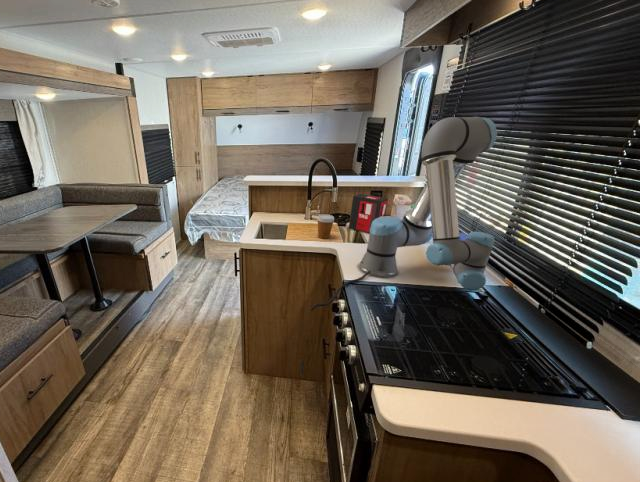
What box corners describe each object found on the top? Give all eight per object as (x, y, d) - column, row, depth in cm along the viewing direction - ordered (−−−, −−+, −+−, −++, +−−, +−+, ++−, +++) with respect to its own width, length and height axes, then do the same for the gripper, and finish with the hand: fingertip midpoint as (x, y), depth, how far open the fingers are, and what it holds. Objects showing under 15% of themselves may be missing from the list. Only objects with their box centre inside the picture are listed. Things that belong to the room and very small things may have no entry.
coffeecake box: (388, 224, 194) (394, 194, 186) (400, 225, 192) (407, 194, 184) (391, 232, 181) (398, 199, 173) (405, 233, 179) (412, 200, 171)
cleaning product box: (348, 228, 187) (353, 196, 179) (355, 225, 193) (360, 193, 185) (375, 235, 177) (381, 201, 169) (381, 231, 182) (388, 198, 174)
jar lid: (461, 244, 125) (462, 240, 124) (437, 237, 132) (438, 233, 132) (472, 239, 130) (473, 235, 129) (448, 233, 137) (449, 229, 136)
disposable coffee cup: (325, 241, 168) (328, 220, 163) (311, 236, 175) (313, 216, 170) (335, 237, 174) (338, 216, 169) (321, 232, 181) (323, 213, 176)
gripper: (427, 268, 123) (420, 248, 142) (493, 277, 115) (476, 255, 134) (432, 251, 120) (423, 233, 139) (499, 259, 112) (481, 239, 131)
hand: (449, 244), depth 137 cm, fingers closed on jam jar, 9 cm apart
